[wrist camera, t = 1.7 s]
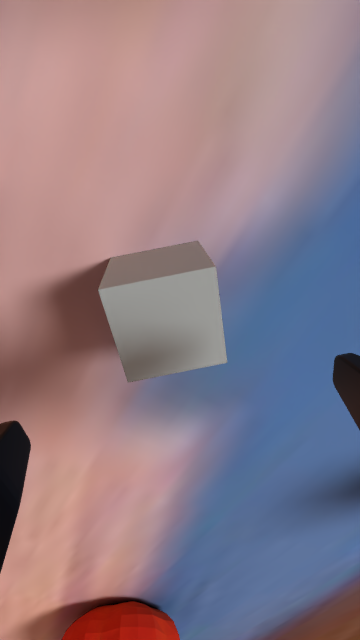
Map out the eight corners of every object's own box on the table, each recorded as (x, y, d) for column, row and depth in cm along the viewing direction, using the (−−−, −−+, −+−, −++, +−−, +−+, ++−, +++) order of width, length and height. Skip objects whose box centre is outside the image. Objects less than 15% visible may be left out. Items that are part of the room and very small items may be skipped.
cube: (197, 240, 15) (215, 266, 11) (208, 317, 17) (227, 362, 13) (110, 257, 15) (97, 289, 11) (132, 332, 17) (128, 382, 13)
